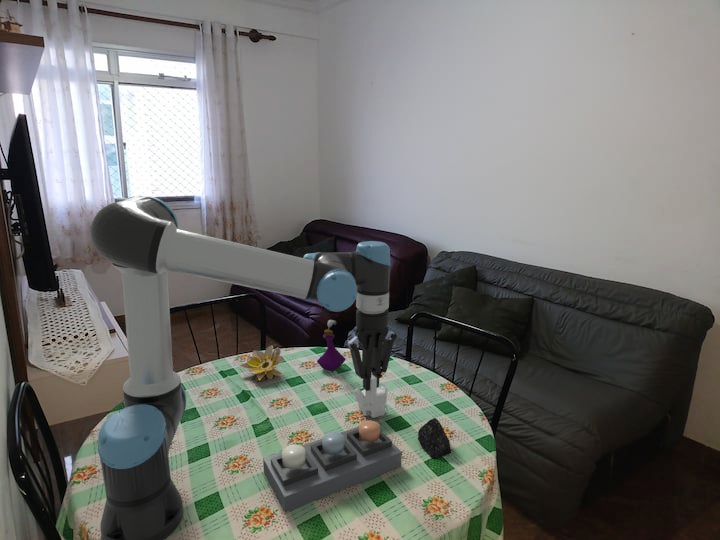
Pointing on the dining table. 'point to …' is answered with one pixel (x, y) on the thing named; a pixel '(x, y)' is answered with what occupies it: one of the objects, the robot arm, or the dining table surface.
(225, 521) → the dining table surface
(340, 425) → the dining table surface
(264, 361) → the decorative flower
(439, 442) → the rock
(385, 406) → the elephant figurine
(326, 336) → the perfume bottle
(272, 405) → the dining table surface
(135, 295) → the robot arm
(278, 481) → the console
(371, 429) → the terracotta button
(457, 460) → the dining table surface
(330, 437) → the slate button
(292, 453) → the ivory button
